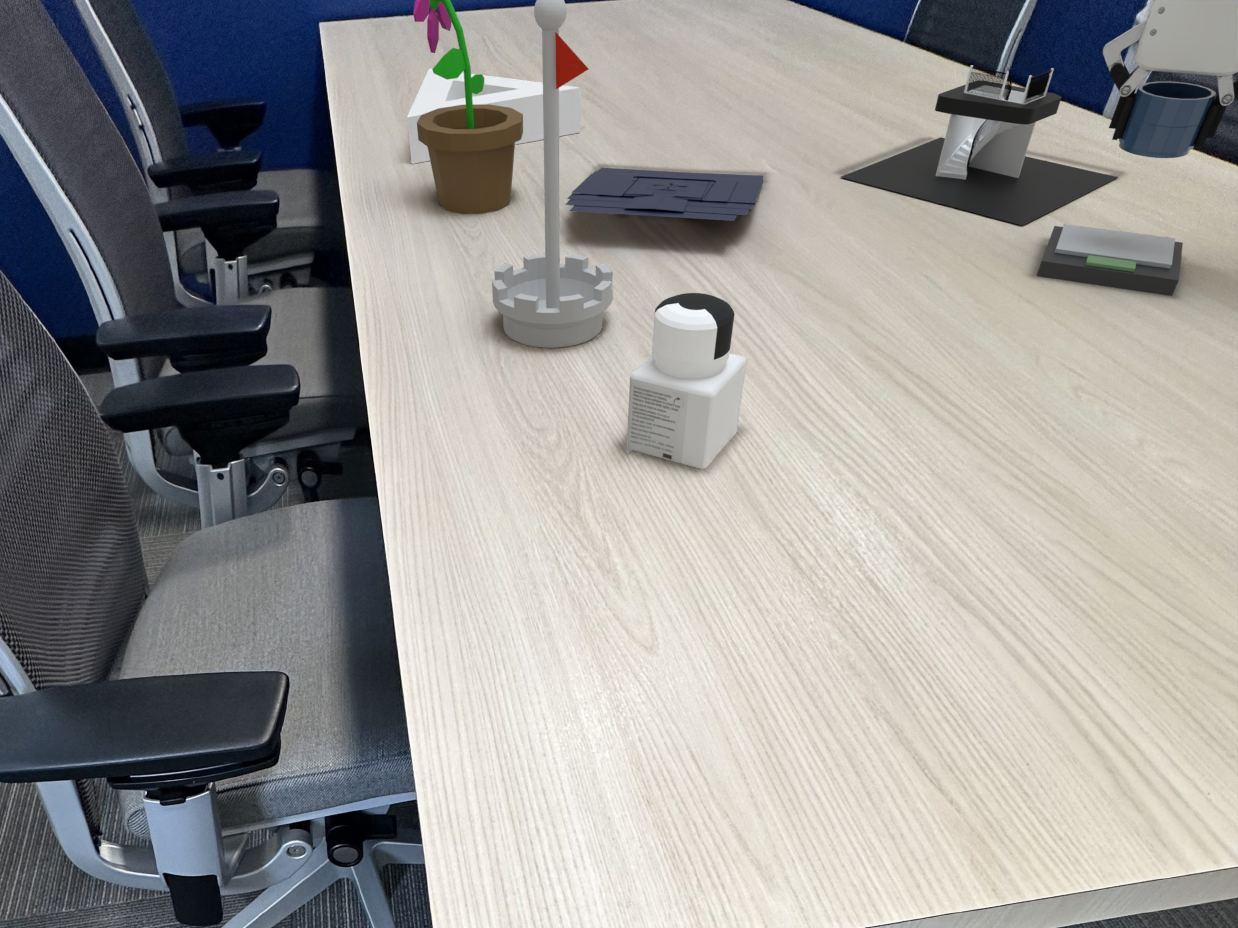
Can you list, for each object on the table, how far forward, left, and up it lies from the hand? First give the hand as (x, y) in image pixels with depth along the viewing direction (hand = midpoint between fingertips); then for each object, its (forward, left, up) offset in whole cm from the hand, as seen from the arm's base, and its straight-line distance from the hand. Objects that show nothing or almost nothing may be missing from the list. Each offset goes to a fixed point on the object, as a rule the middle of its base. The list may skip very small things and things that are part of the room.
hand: (1157, 139), depth 103 cm
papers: (+55, +1, -14) cm, 57 cm away
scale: (0, +1, -14) cm, 14 cm away
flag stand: (+53, +40, -14) cm, 68 cm away
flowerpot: (+81, +8, -14) cm, 83 cm away
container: (+31, +58, -14) cm, 67 cm away
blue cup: (0, 0, -1) cm, 1 cm away
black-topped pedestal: (+19, -28, -14) cm, 37 cm away
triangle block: (+93, -22, -14) cm, 97 cm away
